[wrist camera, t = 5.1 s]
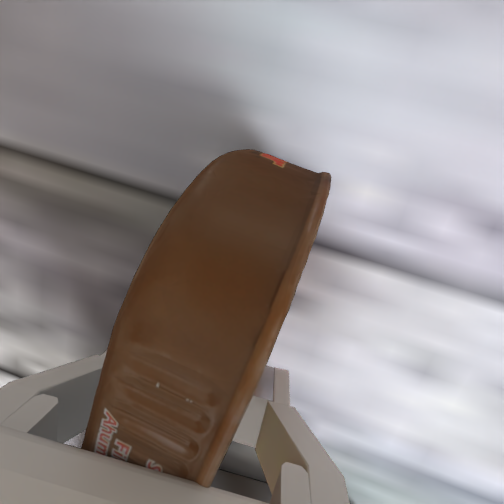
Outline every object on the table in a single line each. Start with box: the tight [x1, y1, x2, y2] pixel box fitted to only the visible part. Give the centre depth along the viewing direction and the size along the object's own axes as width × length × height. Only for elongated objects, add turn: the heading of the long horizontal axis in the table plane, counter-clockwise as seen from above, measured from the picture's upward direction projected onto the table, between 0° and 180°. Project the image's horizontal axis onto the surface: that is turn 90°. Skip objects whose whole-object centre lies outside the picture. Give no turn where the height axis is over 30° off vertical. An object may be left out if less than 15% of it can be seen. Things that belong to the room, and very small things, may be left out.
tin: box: [81, 149, 331, 488], centre depth 9 cm, size 15×3×8 cm, turn 159°
